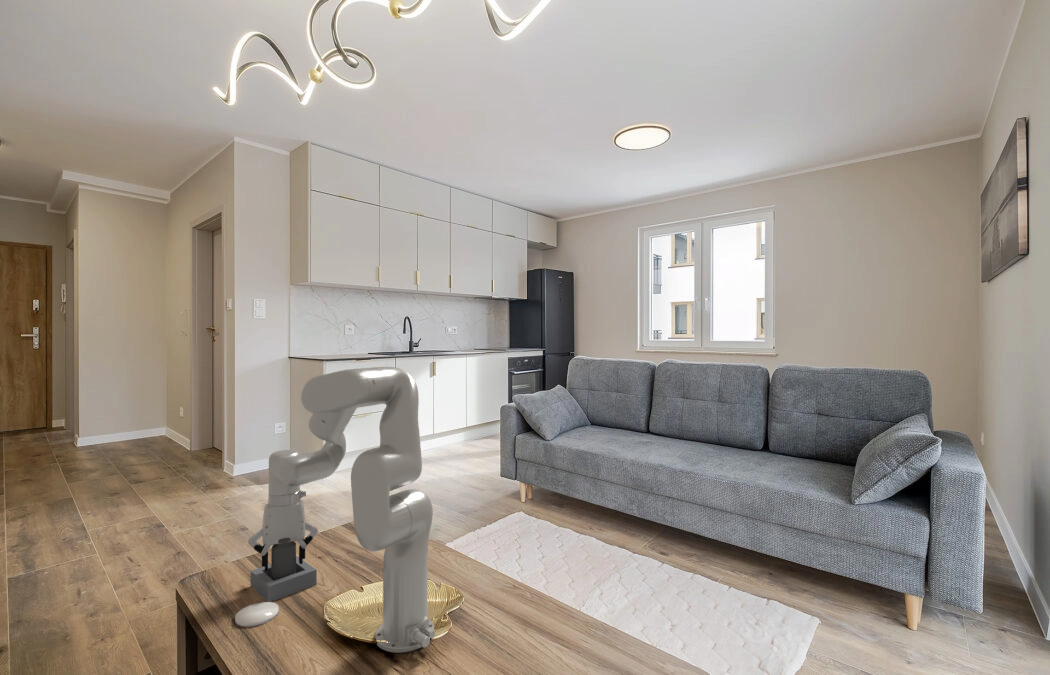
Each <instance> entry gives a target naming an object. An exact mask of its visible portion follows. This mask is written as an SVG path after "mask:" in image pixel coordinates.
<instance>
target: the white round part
mask: <svg viewBox="0 0 1050 675" xmlns="http://www.w3.org/2000/svg"><path fill="white" fill-rule="evenodd" d="M279 609H280V607H279V605H278V604H277V603H275V602H273V601H272V602H267V601H261V602H258V603H253V604H249V605H248V606H247V605H246V606H245V607H243V608H241V609H240V610H239V611H238V612H236V614H235V615H234V622H235V623H234V624H235V625H237V626H239V627H241V628H243V627H244V628H250V627H251V628H252V627H257V626H260V625H264V624H266V623H269V622H270V621H272V620H274V619H275V618H276V617H277V616H278V614H279V611H280V610H279Z"/></svg>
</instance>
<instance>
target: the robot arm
mask: <svg viewBox="0 0 1050 675" xmlns="http://www.w3.org/2000/svg"><path fill="white" fill-rule="evenodd" d="M300 394H301V395H300V398H301V399H300V400H301V404H302V406H303V408H304V409H305V410H306V411H307V412H309V413H311V414H312V415H311V416H310V418H309V420H308V428H309V431H310V432H311V434H312V435H313V436H315V437H316V438H318V439H320V440H321V441H324V445H323V446H322V448H321V449H318V450H313V451H310V452H305V453H301V454H300V453H299V451H297V450H295V449H283V450H277V451H274V452H272V453H271V454H270V456H269V457H268V501H267V502H268V503H266V504H265V505H264V509H263V516H262V528H261V529H260V530H258V531H257V532H256V533H254V534H253V535H252V536H251V537H249V538H248V542H247V543H248V544H249V545H250V547H251V548H253V549H254V550H255V551H256V552H257V553H258V554H260V556H261V567H264V566H265V571H267V570H268V565H269V550H270V548H271V547H272V546H273V545H276V544H280V543H278V540H279V539H283V538H290V539H291V541H289V542H293V541H294V542H297V543H298V557H299V563H300V564H303V561H304V560H305V559H306V548H307V547H308V545H309V544H310V543H311V542H312V541H313V540H314V537H315V536H316V535H317V534H318V532H319V529H318V527H316V526H314V525H312V524H310V523H308V522H306V515H305V514H306V513H305V504H304V500H303V499H302V498H304V497H306V496H307V491H306V490H305V491H304V490H301V486H303V485H306V484H307V485H308V484H309V483H312V482H315V481H320V480H323V479H326V478H329V477H331V476H332V475H334V473H335V472H336V471H337V469H338V468H339V466H340V465H341V463H342V461H343V459H344V457H345V455H346V451H347V441H346V440H347V439H346V436H345V434H344V432H345V430H346V428H347V427H348V425H349V422H350V421H351V419H352V417H353V416H354V413H356V412H355V411H356V410H357V409H358V408H364V407H371V406H376V405H385V408H384V410H383V411H382V414H381V418H380V421H379V437H380V438H379V440H380V441H379V442H380V443H379V446H378V447H374V448H370V449H367V450H365V451H363V452H362V453H360V454H359V455H358V456H357V457H356V458H355V460H354V462H353V465H352V467H351V472H350V486H351V502H352V503H351V504H352V513H353V514H352V517H353V526H354V531H355V535H356V538H357V540H358V543H359V544H360V546H361V547H362V548H363V549H365V550H366V551H369V552H379V551H382V550H384V552H383V562H382V564H383V566H382V567H383V570H382V572H383V573H382V577H383V578H382V623H381V624H380V626H378V628H377V629H376V631H375V634H374V635H375V636H374V638H376V640H380V641H381V640H386V641H388V643H385V642H378V643H377V644H376V645H377V646H378V648H380V649H382V650H383V651H386V652H390V653H398V654H399V653H402V654H403V653H409V652H412V651H416V650H418V649H420V648H425V649H426V648H427V647H428V646H429V644H430V641H431V640H430V639H429V638H432V639H433V638H434V637H435V635H436V633H435V625H434V622H433V621H432V619H430V618H429V616H428V576H429V575H428V574H429V572H428V569H429V568H428V566H429V540H430V533H431V527H432V522H433V512H434V509H433V504H432V502H431V499H430V498H429V496H428V495H427V494H426V493H425V492H424V491H423V490H419V489H416V488H414V489H413V488H412V489H410V488H409V489H405V490H401V491H399V492H395V493H393V494H390V492H392V491H394V490H397V489H399V488H402V487H405V486H408V485H410V484H412V483H414V482H416V481H417V480H418V479H419V478H420V476H421V475H422V470H423V463H422V462H423V460H422V449H421V448H422V447H421V436H420V428H419V426H420V425H419V404H420V403H419V401H420V400H419V388H418V386H417V382H416V381H415V379H414V377H413V376H412V375H411V374H410V373H409V372H408V371H406V370H404V369H403V368H399V367H393V366H378V367H377V366H376V367H375V366H374V367H361V368H350V369H344V370H339V371H334V372H330V373H326V374H325V373H324V374H321V375H316V376H313V377H311V378H310V379H308V380H307V381H306V382H305V383H304V386H303V387H302V391H301V393H300ZM306 531H309V534H308V535H307V536H306ZM305 536H306V537H305ZM261 537H262V539H261ZM259 539H261V540H262V544H263V545H262V544H260V543H258V540H259ZM389 642H390V643H389Z"/></svg>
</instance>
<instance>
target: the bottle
mask: <svg viewBox="0 0 1050 675" xmlns="http://www.w3.org/2000/svg"><path fill="white" fill-rule="evenodd" d="M289 541H291V539H290V538H283V539H279V540H278V543H280V544H276V545H271V563H270V564H271V579H272V580H274V581H275V580H278V579H281V578H284V577H287V576H289V575H292V574H295V573H296V556H297V543H296V541H293V542H289Z"/></svg>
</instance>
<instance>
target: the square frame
mask: <svg viewBox="0 0 1050 675" xmlns="http://www.w3.org/2000/svg"><path fill="white" fill-rule="evenodd" d="M317 571H318V570H317V569H316V568H315V567H314V566H312V565H311V564H309V563H308V562H307V561H305V560H303V564H300V563H299V555H296V573H295V574H292V575H289V576H287V577H284V578H281V579H278V580H275V581H274V580H272V579H271V563H270V564H268V570H267V571H265V566H264V567H262V566H261V567H258V568H255V569H253V570H250V587H251V586H252V587H253V588H254V589H255V590H256V591H257V592H258V593H257V592H256V591H255V592H256V593H257V594H258V595H259V596H261V597H262V599H263V600H265V602H267V601H268V602H272V603H273V602H274V601H278V600H280V599H283V598H285V597H289V596H291V595H293V594H296V593H299V592H302V591H304V590H306V589H309V588H312V587H314V586H317V582H318V581H317V577H318V576H317ZM252 587H251V588H252ZM253 588H252V589H253ZM254 589H253V590H254Z"/></svg>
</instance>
